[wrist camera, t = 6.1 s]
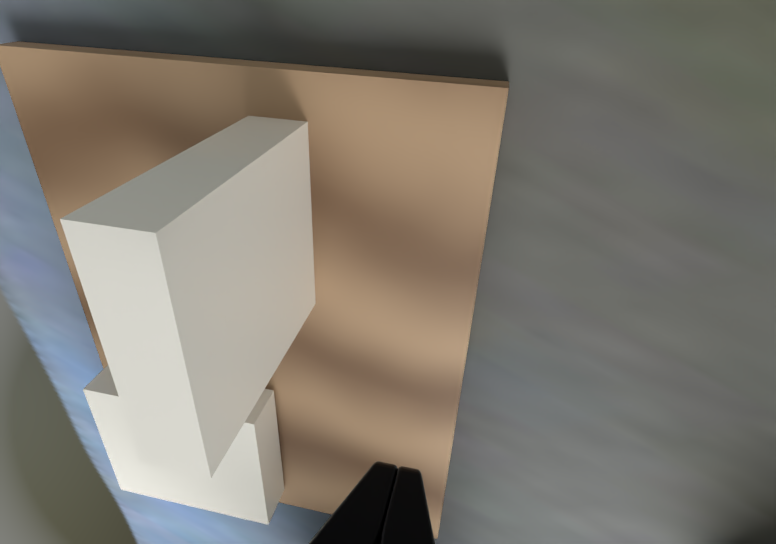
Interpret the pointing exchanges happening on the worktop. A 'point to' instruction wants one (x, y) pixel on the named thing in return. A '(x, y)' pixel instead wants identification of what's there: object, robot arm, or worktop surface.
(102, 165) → the board
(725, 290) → the worktop surface
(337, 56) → the worktop surface
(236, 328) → the tile
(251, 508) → the tile
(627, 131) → the worktop surface
